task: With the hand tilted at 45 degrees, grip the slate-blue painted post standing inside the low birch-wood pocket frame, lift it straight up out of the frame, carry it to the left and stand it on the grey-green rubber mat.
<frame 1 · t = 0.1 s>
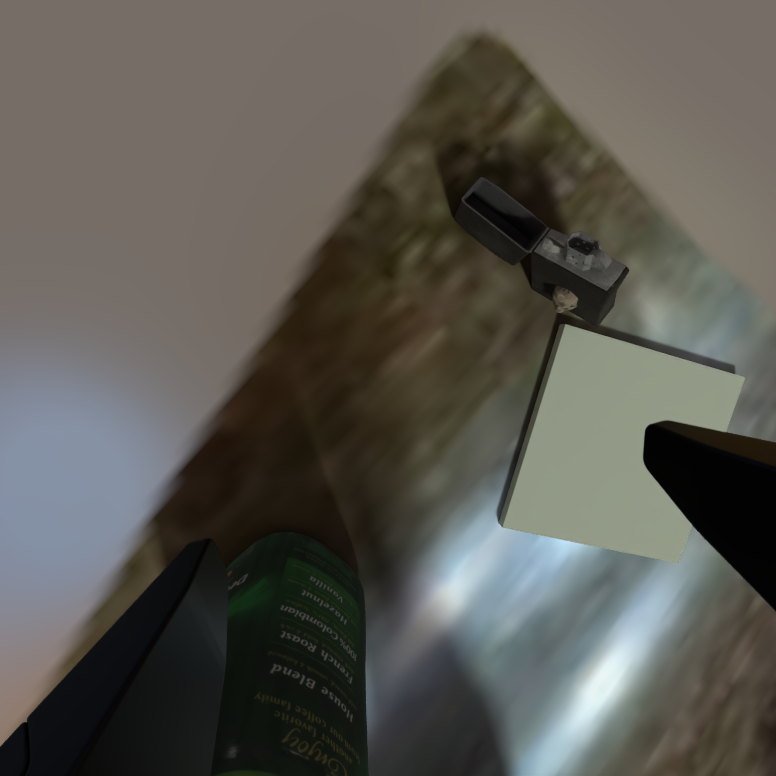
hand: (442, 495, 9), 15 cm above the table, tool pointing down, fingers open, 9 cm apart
lighter: (515, 266, 25), on the table
coffee jar: (275, 604, 25), on the table
mat: (619, 448, 27), on the table
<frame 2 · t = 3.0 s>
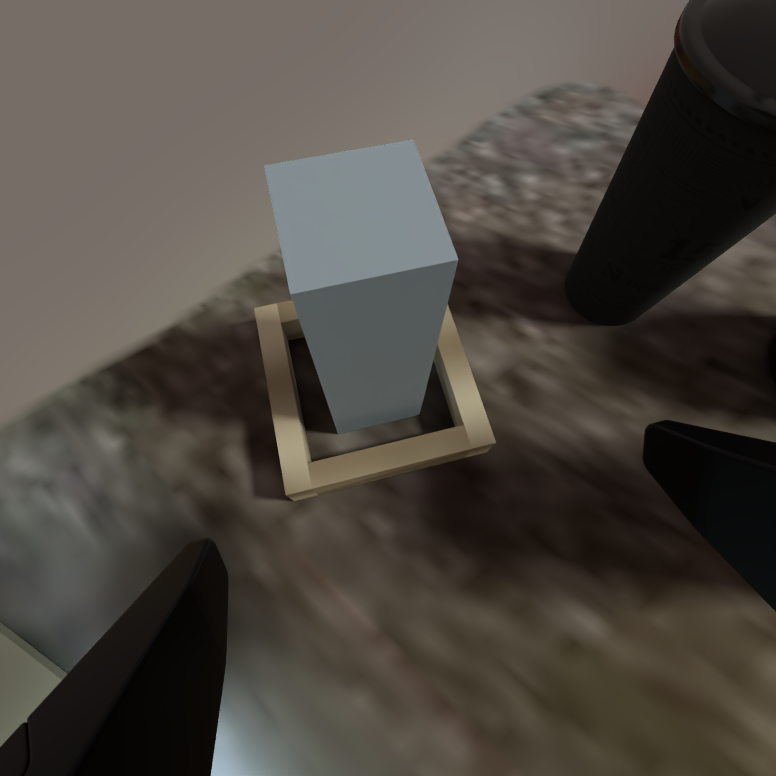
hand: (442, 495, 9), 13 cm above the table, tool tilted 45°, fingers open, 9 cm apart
post: (365, 327, 18), in the pocket
pocket: (369, 386, 24), on the table
drinking cup: (603, 292, 27), on the table
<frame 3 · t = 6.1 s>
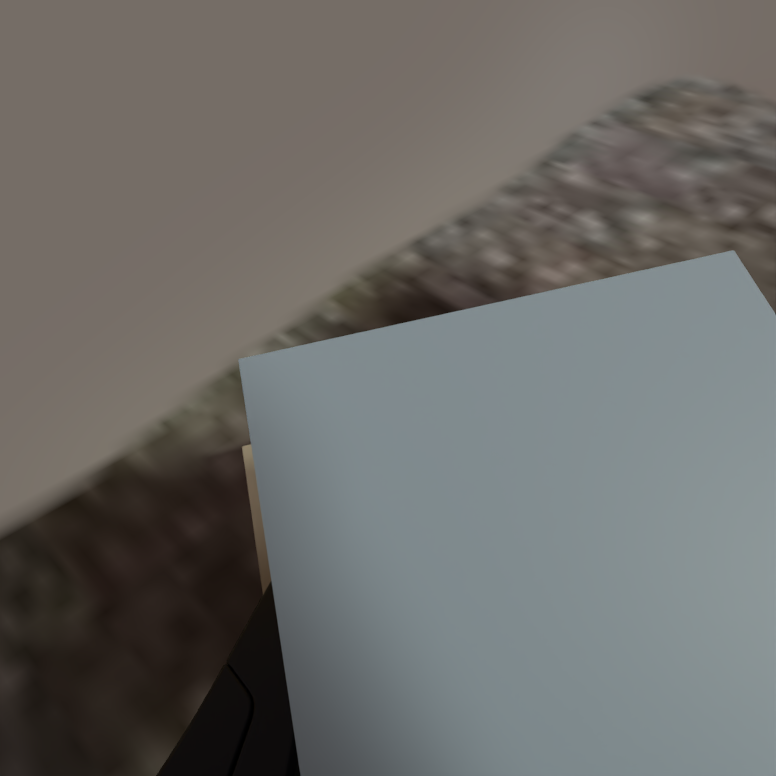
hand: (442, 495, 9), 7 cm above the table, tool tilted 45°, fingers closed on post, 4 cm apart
post: (458, 567, 9), in the pocket, touching gripper
pocket: (427, 566, 15), on the table
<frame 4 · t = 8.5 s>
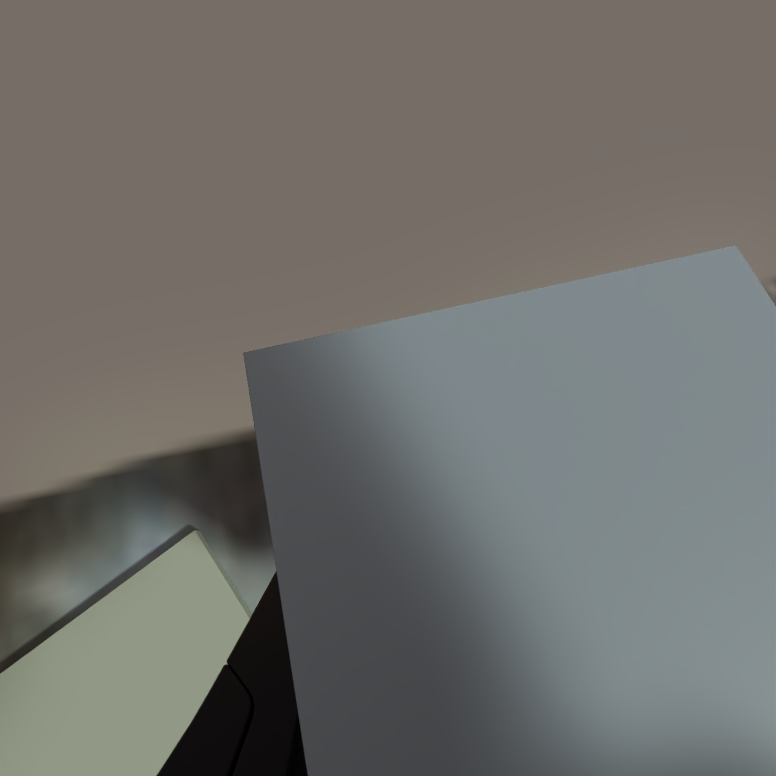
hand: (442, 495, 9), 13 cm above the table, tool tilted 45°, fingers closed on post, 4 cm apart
post: (459, 564, 9), point 13 cm above the table, touching gripper
mat: (145, 746, 18), on the table
when the fingers open (8 cm above the table, at t = 11.0 s): post stays where it is, resting on mat.
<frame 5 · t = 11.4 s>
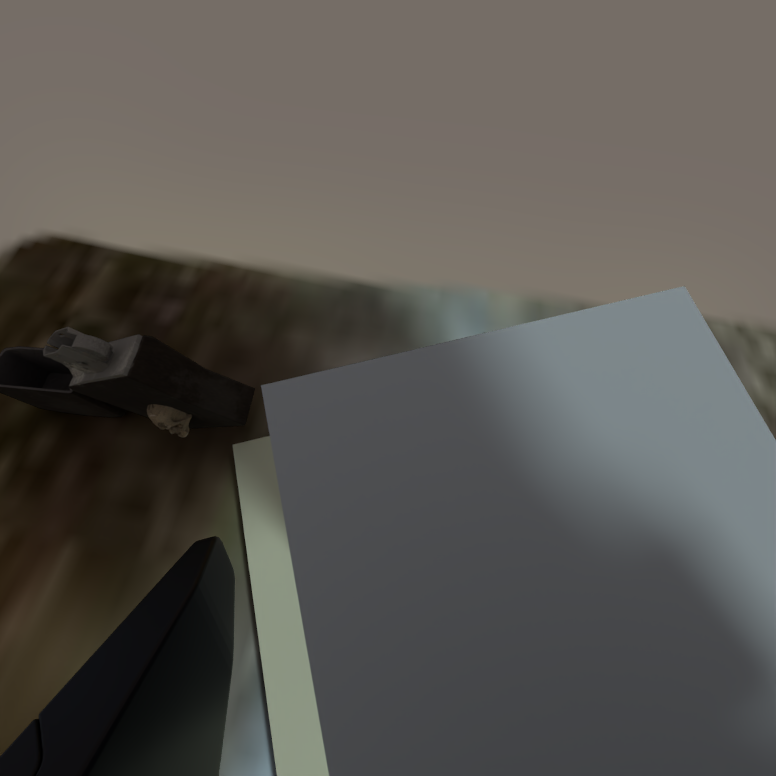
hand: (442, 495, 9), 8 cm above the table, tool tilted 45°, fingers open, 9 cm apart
post: (453, 563, 10), on the mat, point 7 cm above the table
lighter: (150, 416, 18), on the table
mat: (424, 565, 16), on the table
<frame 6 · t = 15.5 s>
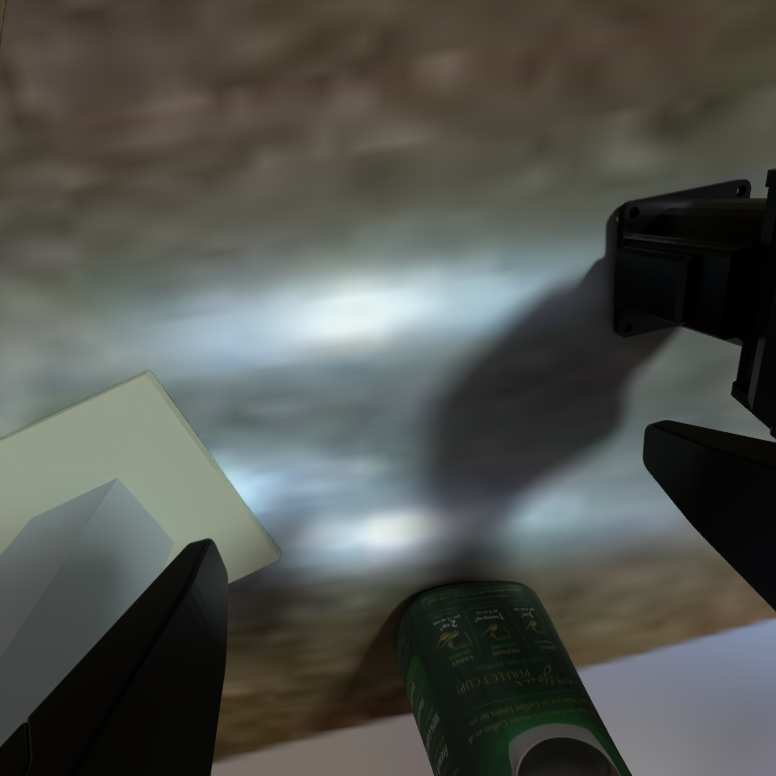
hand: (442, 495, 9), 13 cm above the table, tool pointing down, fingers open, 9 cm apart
post: (34, 653, 16), on the mat, point 7 cm above the table
coffee jar: (464, 617, 30), on the table
mat: (112, 522, 22), on the table
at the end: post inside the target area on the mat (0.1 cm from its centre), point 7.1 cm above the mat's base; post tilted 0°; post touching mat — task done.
